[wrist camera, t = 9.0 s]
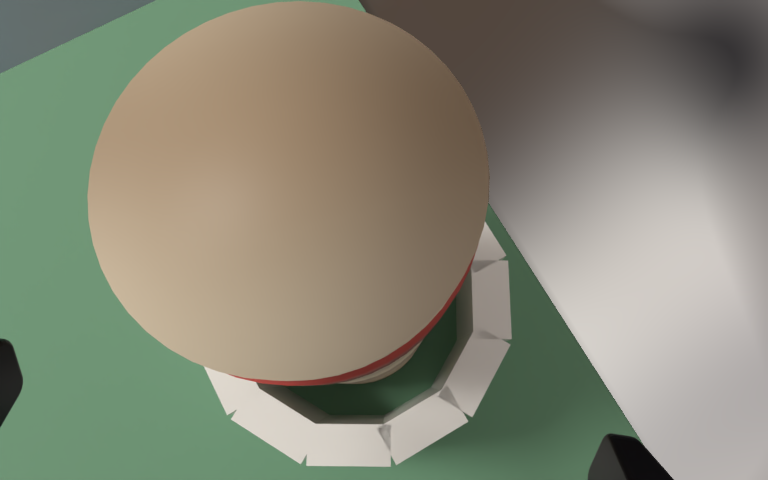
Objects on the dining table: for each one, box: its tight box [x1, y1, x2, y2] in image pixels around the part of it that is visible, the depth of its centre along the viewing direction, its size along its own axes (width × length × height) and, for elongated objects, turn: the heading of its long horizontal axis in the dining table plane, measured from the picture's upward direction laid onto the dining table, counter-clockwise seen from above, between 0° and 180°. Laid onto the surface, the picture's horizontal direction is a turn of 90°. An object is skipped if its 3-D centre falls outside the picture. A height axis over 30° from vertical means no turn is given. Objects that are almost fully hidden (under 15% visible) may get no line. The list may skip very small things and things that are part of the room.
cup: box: [204, 222, 512, 467], centre depth 17 cm, size 8×8×4 cm
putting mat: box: [0, 0, 643, 480], centre depth 19 cm, size 22×19×1 cm
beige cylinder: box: [87, 1, 490, 386], centre depth 12 cm, size 4×4×12 cm
